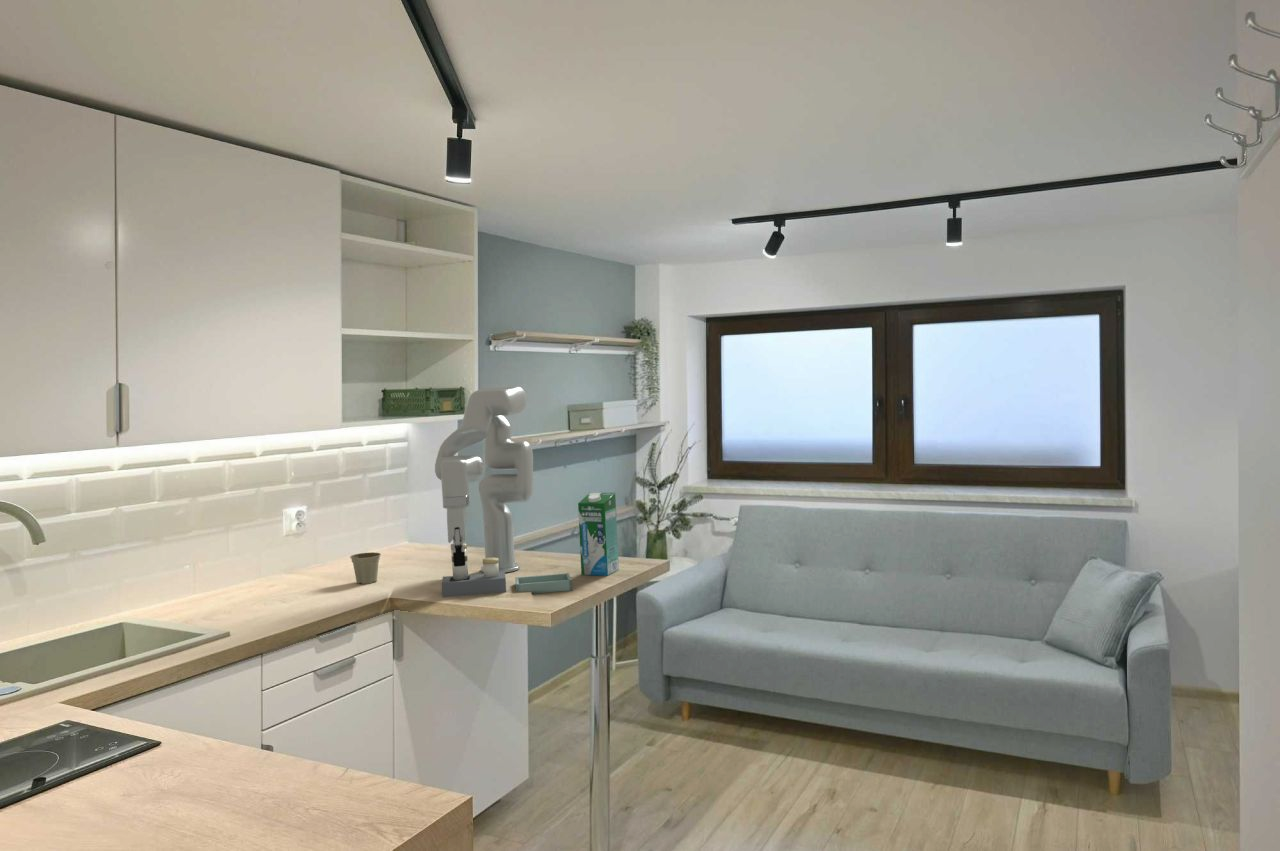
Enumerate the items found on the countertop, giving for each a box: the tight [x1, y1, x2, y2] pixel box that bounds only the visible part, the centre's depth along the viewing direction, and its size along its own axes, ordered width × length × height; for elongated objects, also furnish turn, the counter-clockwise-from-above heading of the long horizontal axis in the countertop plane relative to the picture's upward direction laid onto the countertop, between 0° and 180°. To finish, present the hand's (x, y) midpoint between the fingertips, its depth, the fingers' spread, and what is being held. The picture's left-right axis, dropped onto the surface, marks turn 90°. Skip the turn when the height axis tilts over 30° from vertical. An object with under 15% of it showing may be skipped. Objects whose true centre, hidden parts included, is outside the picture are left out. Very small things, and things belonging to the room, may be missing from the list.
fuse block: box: [441, 557, 507, 598], centre depth 258 cm, size 9×18×10 cm, turn 100°
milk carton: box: [577, 492, 619, 577], centre depth 281 cm, size 9×9×25 cm
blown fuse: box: [450, 542, 469, 580], centre depth 257 cm, size 5×5×10 cm
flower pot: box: [349, 552, 382, 585], centre depth 281 cm, size 9×9×9 cm
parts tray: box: [514, 573, 573, 595], centre depth 261 cm, size 10×16×3 cm, turn 100°
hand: (459, 563), depth 257 cm, fingers closed on blown fuse, 4 cm apart
